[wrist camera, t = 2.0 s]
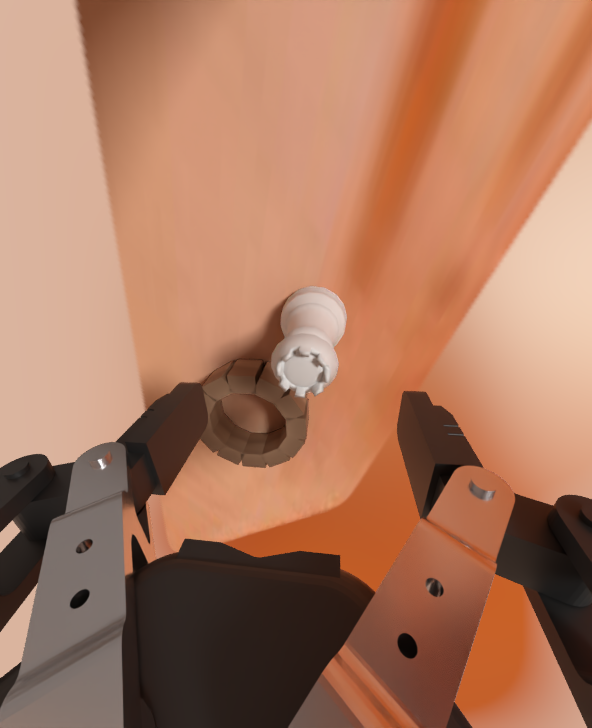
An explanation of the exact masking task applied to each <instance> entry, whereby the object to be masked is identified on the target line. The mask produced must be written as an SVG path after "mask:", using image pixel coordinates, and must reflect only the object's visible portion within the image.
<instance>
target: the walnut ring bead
mask: <svg viewBox="0 0 592 728" xmlns="http://www.w3.org/2000/svg"><path fill="white" fill-rule="evenodd" d="M279 382H280V381H279V380H278V379H277V378H276V377H275V375H274V372H273V370H272V367H271V363H270V362H268V361H267V363H266V365H265V367H264V369H263V360H247V359H237V361H236V362H234V361H231V362H229V363H227V364H225V365H224V366H222V367H220V368H218V369H216V370H214V371H213V373H212V374H211V375H210V376H209V377H208V379H207V380H206V381H205V383H204V384H203V385H202V388H203V393H204V397H205V402H206V407H207V411H208V424H207V427H206V429H205V431H204V432H203V434H202V436H201V437H200V439H201V440H202V441H203V442H204V443H205V444H206V445H207V446H208V448H209V449H210V450H211V451H212V452H215V451H218V450H219V452H218V454H217V455H218V456H220V457H222V458H224V459H226V460H229V461H231V462H233V463H235V464H237V465H239V463H240V461H241V460H242V465H243V466H248V467H261V468H266V465H267V464H268V466H269V467H272V466H275V465H278V464H281V463H283V462H286V461H289V460H290V457H292V458H293V457H294V456H295V455H296V454H297V452H298V451H299V450H300V448H301V447H302V446H303V445H304V443H305V439H306V436H307V428H308V421H309V402H308V399H307V394H305V398H299V397H295V391H293V390H291V389H288V390H287V391H286V392H285V391H284V390H283V389H282V388H281V387H280V386H279ZM232 393H235V394H254V395H256V396H258V397H260V398H262V399H264V400H266V401H268V402H270V403H272V404H274V405H275V406H276V408H277V409H278V410H279V412H280V413H281V414H282V416H283V417H284V418H285V420H286V424H285V425H284V427H283V428H281V429H279V430H276V431H274V432H271V433H269V434H263V433H250V432H248V431H246V430H244V429H242V428H240V427H238V426H236V425H234V424H233V423H232V421H231V420H230V419H229V418H228V417H227V416H226V414H225V413H224V412H223V407H222V401H221V399H222V398H224V397H226V396H228V395H230V394H232Z"/></svg>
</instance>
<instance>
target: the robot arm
mask: <svg viewBox="0 0 592 728" xmlns="http://www.w3.org/2000/svg"><path fill="white" fill-rule="evenodd" d="M207 424H208V411H207V407H206V402H205V397H204V393H203V388H202V386H201V384H200V383H184V382H182V383H179V384H178V385H177V386H176V387H175V388H174V389H173V391H172V392H171V393H170V394H166V395H165V396H163V397H161V398H160V399H158V400H156V401H155V402H154V403H153V404H152V405H151V406H150V407H149V408H148V410H147V411H145V412H144V413H143V414H142V416H141V418H139V419H138V420H137V421H136V422H135V423H134V424H133V425H132V426H131V427H130V428H129V429H128V430H127V431H126V432H125V433H124V434H123V435H122V436H121V437H120V438H119V439H118V440H117V441H116V442H109V443H104V444H101V445H98V446H95V447H93V448H91V449H90V450H88V451H86V452H85V453H83V454H82V455H81V456H80V457H79V458H78V459H77V460H76V462H73V463H67V464H62V465H56V466H52V465H51V463H50V462H49V460H48V458H47V457H46V456H45V455H42V454H33V455H28V456H24V457H22V458H19V459H16V460H14V461H12V462H10V463H8V464H6V465H4V466H3V467H1V468H0V532H1V531H2V530H3V529H4V528H5V527H6V526H7V525H8V524H9V523H10V522H11V521H12V520H13V521H14V522H15V524H16V525H17V527H18V528H19V529H20V530H21V531H20V533H19V534H18V535H17V536H16V537H15V538H14V539H13V540H12V541H11V542H10V543H9V544H8V545H7V546H6V548H4V549H3V551H2V552H1V553H0V632H1V630H2V629H3V628H4V626H5V625H6V624H7V622H8V621H9V620H10V619H11V617H12V616H13V614H14V613H15V612H16V611H17V609H18V608H19V607H20V605H21V604H22V603H23V601H24V600H25V599H26V598H27V596H28V595H29V594H30V592H31V591H32V590H33V588H34V587H35V586H36V584H37V583H38V585H37V590H36V594H35V599H34V604H33V609H32V614H31V618H30V623H29V629H28V633H27V638H26V643H25V648H24V652H23V657H22V662H20V663H19V664H18V665H17V666H15V667H14V668H13V669H12V670H10V671H9V672H8V673H6V674H5V675H4V676H3V677H1V678H0V728H472V726H471V725H470V724H469V722H468V721H467V719H466V718H465V716H464V715H463V714H462V712H461V711H460V709H459V708H458V706H457V705H456V704H455V702H454V701H455V698H456V695H457V692H458V689H459V685H460V682H461V678H462V676H463V672H464V669H465V666H466V663H467V660H468V657H469V654H470V651H471V647H472V644H473V641H474V638H475V635H476V631H477V628H478V625H479V622H480V619H481V616H482V613H483V609H484V606H485V603H486V600H487V597H488V594H489V590H490V587H491V584H492V581H493V578H494V575H495V574H497V575H499V576H501V577H504V578H506V579H508V580H511V581H513V582H516V583H518V584H521V585H523V587H524V589H525V591H526V594H527V596H528V598H529V600H530V602H531V604H532V607H533V609H534V611H535V613H536V616H537V618H538V620H539V622H540V624H541V627H542V629H543V631H544V633H545V635H546V637H547V640H548V642H549V644H550V646H551V648H552V651H553V653H554V655H555V657H556V660H557V662H558V664H559V666H560V668H561V670H562V673H563V675H564V677H565V679H566V682H567V684H568V686H569V688H570V690H571V692H572V695H573V697H574V699H575V701H576V704H577V706H578V708H579V710H580V712H581V715H582V717H583V719H584V721H585V723H586V726H587V728H592V499H589V498H586V497H582V496H577V495H564V496H561V497H560V498H558V500H557V501H556V503H555V504H554V506H553V505H549V504H546V503H543V502H539V501H536V500H533V499H530V498H526V497H523V496H520V495H518V494H515V493H514V492H513V490H512V489H511V487H510V486H509V485H508V484H507V482H506V481H504V480H503V479H502V478H501V477H500V476H498V475H497V474H495V473H493V472H491V471H489V470H487V469H484V468H483V466H482V464H481V463H480V461H479V459H478V458H477V456H476V454H475V452H474V451H473V449H472V448H471V446H470V444H469V442H468V441H467V439H466V437H465V436H464V434H463V432H462V431H461V429H460V428H459V427H458V424H457V422H456V420H455V419H454V417H453V415H452V414H450V413H449V412H448V411H447V410H446V409H444V408H443V407H442V406H433V404H432V403H431V401H430V399H429V397H428V395H427V393H426V392H417V391H404V392H403V395H402V400H401V406H400V412H399V418H398V424H397V434H398V441H399V445H400V448H401V451H402V455H403V459H404V462H405V466H406V469H407V473H408V476H409V479H410V484H411V487H412V491H413V494H414V498H415V501H416V505H417V508H418V512H419V515H420V519H421V520H420V521H419V522H418V524H417V526H416V527H415V529H414V531H413V532H412V534H411V535H410V537H409V539H408V540H407V542H406V544H405V545H404V547H403V549H402V550H401V552H400V554H399V555H398V557H397V558H396V560H395V562H394V563H393V565H392V567H391V568H390V570H389V572H388V573H387V575H386V577H385V578H384V580H383V581H382V583H381V585H380V586H379V588H378V590H377V591H376V592H374V591H373V590H372V589H371V588H370V587H369V586H368V585H367V584H365V583H364V582H363V581H361V580H360V579H359V578H357V577H355V576H354V575H352V574H350V573H348V572H346V571H344V570H341V569H340V555H332V554H323V553H313V552H304V551H297V552H291V553H285V554H279V555H273V556H268V557H262V558H258V557H253V556H251V555H249V554H246V553H244V552H242V551H239V550H237V549H235V548H233V547H230V546H228V545H226V544H223V543H221V542H212V541H202V540H193V539H185V540H184V542H183V544H182V546H181V548H180V550H179V552H177V553H173V554H169V555H166V556H164V557H161V558H159V559H156V554H155V548H154V541H153V533H152V526H151V517H150V510H149V505H148V502H147V500H148V498H149V497H150V496H151V494H156V495H166V493H167V491H168V490H169V488H170V486H171V485H172V483H173V481H174V480H175V478H176V477H177V475H178V473H179V472H180V470H181V468H182V467H183V465H184V463H185V462H186V460H187V459H188V457H189V455H190V454H191V452H192V450H193V449H194V447H195V445H196V444H197V442H198V441H199V439H200V437H201V436H202V434H203V432H204V431H205V429H206V427H207Z"/></svg>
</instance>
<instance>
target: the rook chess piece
mask: <svg viewBox="0 0 592 728" xmlns="http://www.w3.org/2000/svg"><path fill="white" fill-rule="evenodd" d="M346 319H347V315H346V311H345V307H344V304H343V303H342V301H341V300H340V299H339V297H338V296H337V295H336V294H335V293H333V292H331V291H329V290H328V289H326V288H323V287H315V286H309V287H306V288H302V289H299V290H297V291H296V292H295V293H294V294H292V295H291V296H290V297H289V298H288V299H287V301H286V303H285V305H284V307H283V309H282V313H281V325H280V326H281V329H282V332H283V334H284V337H285V338H284V339H283V340H282V341H281V342H280V343H278V344H277V346H276V348H275V349H274V351H273V353H272V358H271V367H272V370H273V372H274V375H275V377H276V378H277V379H278V380H279V381H280V382H279V386H280V387H281V388H282V389H283V390H284V391H285V392H286V391H287V390H288V389H291V390H293V391H295V397H299V398H305V394H306V393H313V394H314V396H316V395H318V394H320V393H321V392H323V389H324V388H325V387H327V386H329V385H330V384H331V382H332V381H333V380H334V378H335V377H336V375H337V371H338V365H339V363H338V359H337V355H336V352H335V351H334V348H333V347H334V346H336V345H337V343H338V342H339V340H340V339H341V337H342V336H343V335H344V331H345V326H346Z"/></svg>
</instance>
